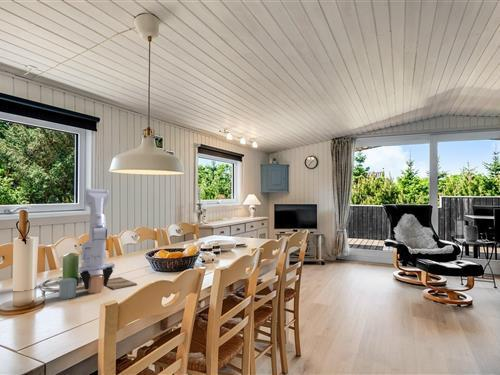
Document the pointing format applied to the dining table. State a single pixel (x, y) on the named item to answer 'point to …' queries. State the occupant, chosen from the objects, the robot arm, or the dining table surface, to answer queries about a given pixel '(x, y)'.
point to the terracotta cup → (96, 283)
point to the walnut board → (119, 283)
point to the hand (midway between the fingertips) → (95, 287)
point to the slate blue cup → (67, 288)
